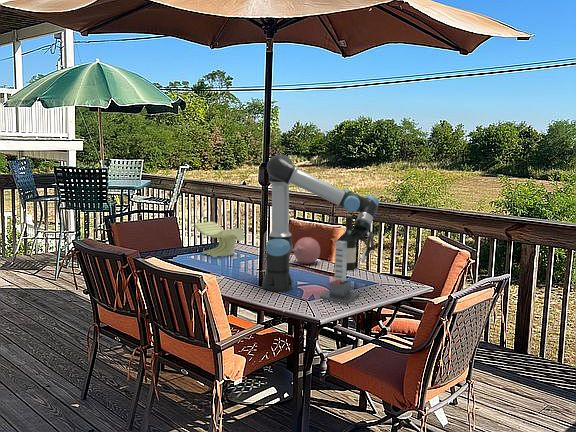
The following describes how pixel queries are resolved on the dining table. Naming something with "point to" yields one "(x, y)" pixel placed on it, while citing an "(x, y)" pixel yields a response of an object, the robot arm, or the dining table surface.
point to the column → (340, 261)
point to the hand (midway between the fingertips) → (349, 259)
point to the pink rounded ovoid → (306, 250)
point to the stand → (340, 293)
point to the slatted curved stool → (220, 238)
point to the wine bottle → (350, 247)
